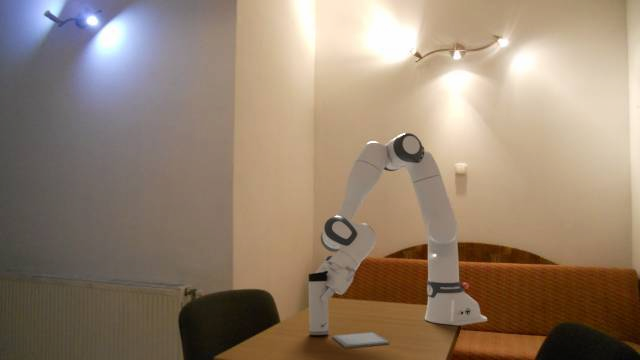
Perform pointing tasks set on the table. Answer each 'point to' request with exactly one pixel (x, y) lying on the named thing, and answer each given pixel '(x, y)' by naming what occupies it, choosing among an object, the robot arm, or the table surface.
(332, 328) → the table surface
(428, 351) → the table surface
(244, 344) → the table surface
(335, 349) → the table surface
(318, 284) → the travel mug
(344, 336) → the felt pad
